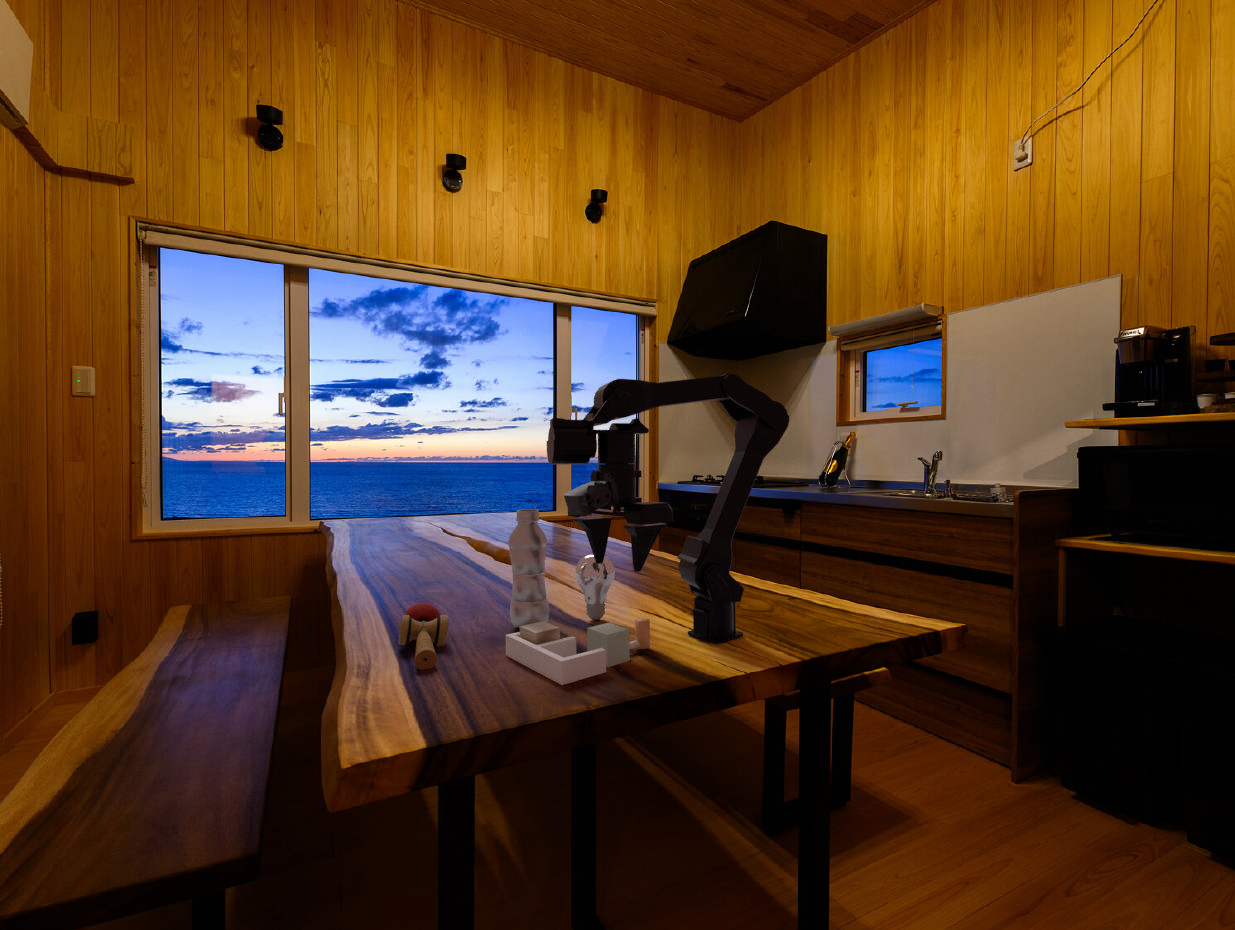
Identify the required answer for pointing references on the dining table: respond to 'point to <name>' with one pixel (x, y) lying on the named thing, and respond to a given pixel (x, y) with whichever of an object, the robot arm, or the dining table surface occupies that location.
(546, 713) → the dining table surface
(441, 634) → the kendama
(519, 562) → the plastic bottle
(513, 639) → the lane rack
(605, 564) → the light bulb
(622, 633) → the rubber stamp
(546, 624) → the ash block
